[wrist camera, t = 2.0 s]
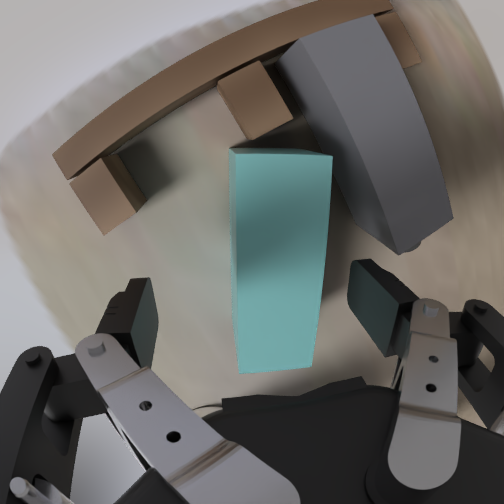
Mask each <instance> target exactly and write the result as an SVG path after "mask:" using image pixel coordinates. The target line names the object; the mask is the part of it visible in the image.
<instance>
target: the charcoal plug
mask: <svg viewBox="0 0 504 504" xmlns="http://www.w3.org/2000/svg"><path fill="white" fill-rule="evenodd" d="M274 65H275V66H276V68H277V70H278V71H279V73H280V75H281V76H282V78H283V80H284V81H285V83H286V85H287V87H288V88H289V90H290V92H291V94H292V95H293V97H294V99H295V101H296V102H297V104H298V106H299V108H300V110H301V111H302V113H303V115H304V117H305V119H306V121H307V123H308V124H309V126H310V128H311V130H312V132H313V134H314V136H315V138H316V140H317V142H318V144H319V146H320V148H321V150H322V152H323V154H326V155H331V156H333V160H332V172H333V174H334V176H335V179H336V181H337V183H338V185H339V187H340V189H341V192H342V194H343V196H344V198H345V200H346V203H347V205H348V207H349V210H350V212H351V214H352V216H353V219H354V221H355V223H356V225H358V226H359V227H361V228H362V229H363V230H365V231H366V232H368V233H369V234H370V235H372V236H373V237H374V238H376V239H377V240H378V241H380V242H381V243H383V244H384V245H385V246H387V247H388V248H389V249H391V250H392V251H393V252H395V253H396V254H397V255H398V256H399V255H400V254H402V253H404V252H410V251H413V250H414V249H416V248H417V247H418V246H419V245H420V244H421V241H422V240H423V239H425V238H426V237H427V236H429V235H430V234H432V233H433V232H435V231H436V230H438V229H439V228H441V227H442V226H443V225H445V224H446V223H448V222H449V221H450V220H452V219H453V214H452V210H451V205H450V201H449V197H448V193H447V189H446V186H445V182H444V178H443V175H442V171H441V168H440V165H439V161H438V158H437V155H436V152H435V149H434V146H433V143H432V140H431V137H430V134H429V131H428V129H427V126H426V123H425V121H424V118H423V115H422V113H421V110H420V108H419V105H418V103H417V100H416V98H415V96H414V93H413V91H412V89H411V86H410V84H409V82H408V80H407V78H406V75H405V73H404V71H403V69H402V67H401V65H400V63H399V61H398V59H397V57H396V55H395V53H394V51H393V49H392V47H391V45H390V43H389V42H388V40H387V38H386V36H385V34H384V32H383V31H382V29H381V27H380V25H379V24H378V22H377V20H376V19H375V17H374V15H373V14H371V15H367V16H364V17H360V18H357V19H354V20H350V21H347V22H344V23H341V24H338V25H335V26H332V27H329V28H326V29H323V30H320V31H318V32H315V33H312V34H310V35H307V36H304V37H302V38H299V39H298V40H297V41H296V42H295V43H294V44H293V45H292V46H291V47H290V48H289V49H288V50H287V51H286V52H285V53H284V54H283V55H282V57H281V58H280V59H279V60H278V61H277V62H276V63H275V64H274Z"/></svg>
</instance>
